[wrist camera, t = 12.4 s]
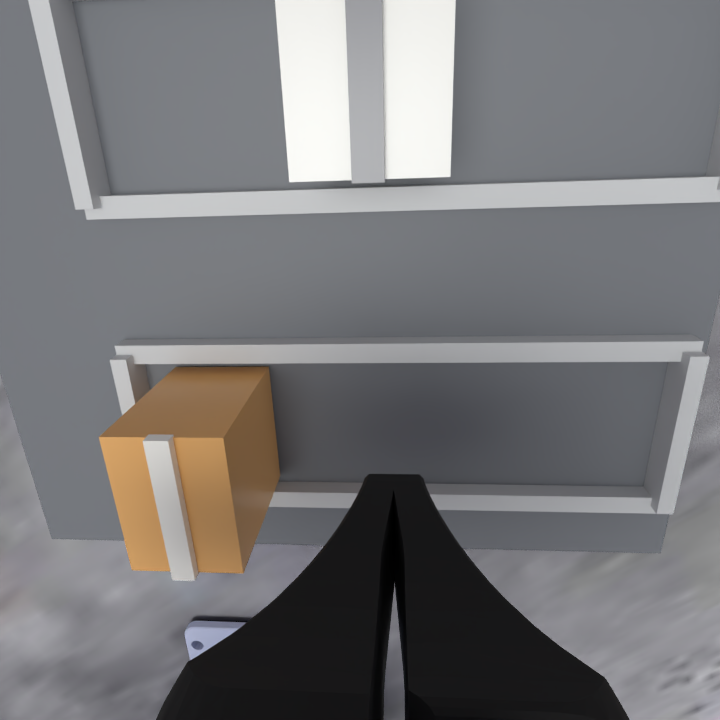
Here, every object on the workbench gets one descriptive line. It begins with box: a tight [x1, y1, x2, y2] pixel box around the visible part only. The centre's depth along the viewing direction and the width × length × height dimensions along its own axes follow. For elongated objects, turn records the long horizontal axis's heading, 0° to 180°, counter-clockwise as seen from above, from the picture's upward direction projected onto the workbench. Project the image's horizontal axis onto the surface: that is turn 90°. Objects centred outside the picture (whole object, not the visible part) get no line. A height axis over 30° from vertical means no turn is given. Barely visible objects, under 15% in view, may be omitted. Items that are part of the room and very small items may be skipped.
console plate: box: [0, 0, 720, 553], centre depth 15 cm, size 19×22×2 cm
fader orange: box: [99, 367, 280, 581], centre depth 14 cm, size 4×3×5 cm
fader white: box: [275, 0, 456, 183], centre depth 11 cm, size 4×3×5 cm
